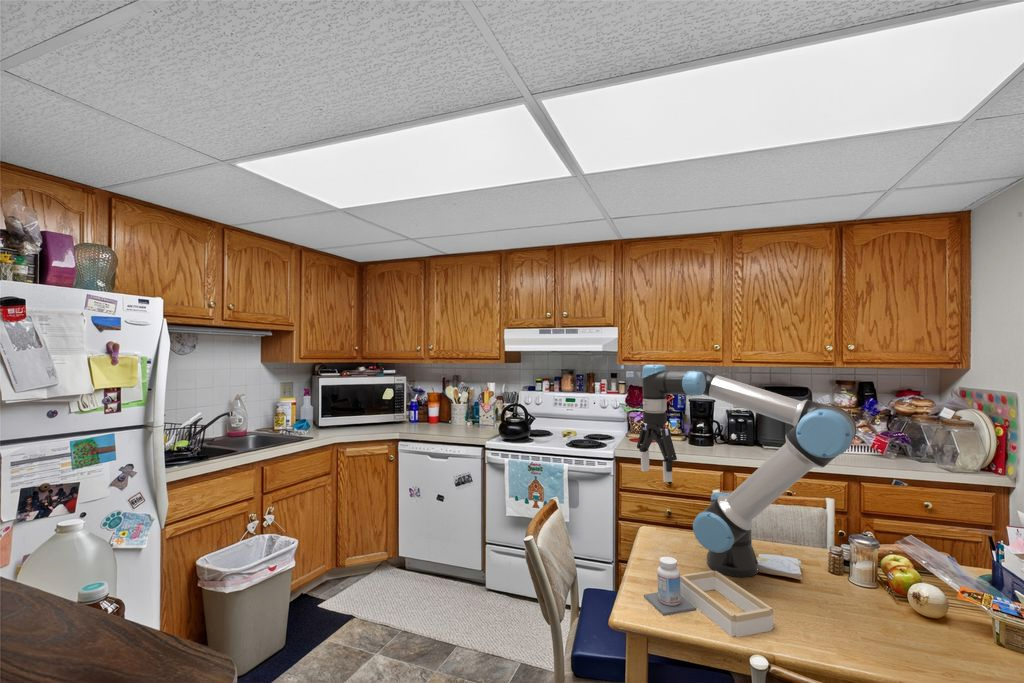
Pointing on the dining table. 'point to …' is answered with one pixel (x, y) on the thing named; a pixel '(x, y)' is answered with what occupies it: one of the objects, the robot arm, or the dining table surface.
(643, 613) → the dining table surface
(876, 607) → the dining table surface
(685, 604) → the coaster
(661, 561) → the pill bottle
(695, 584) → the beige frame
